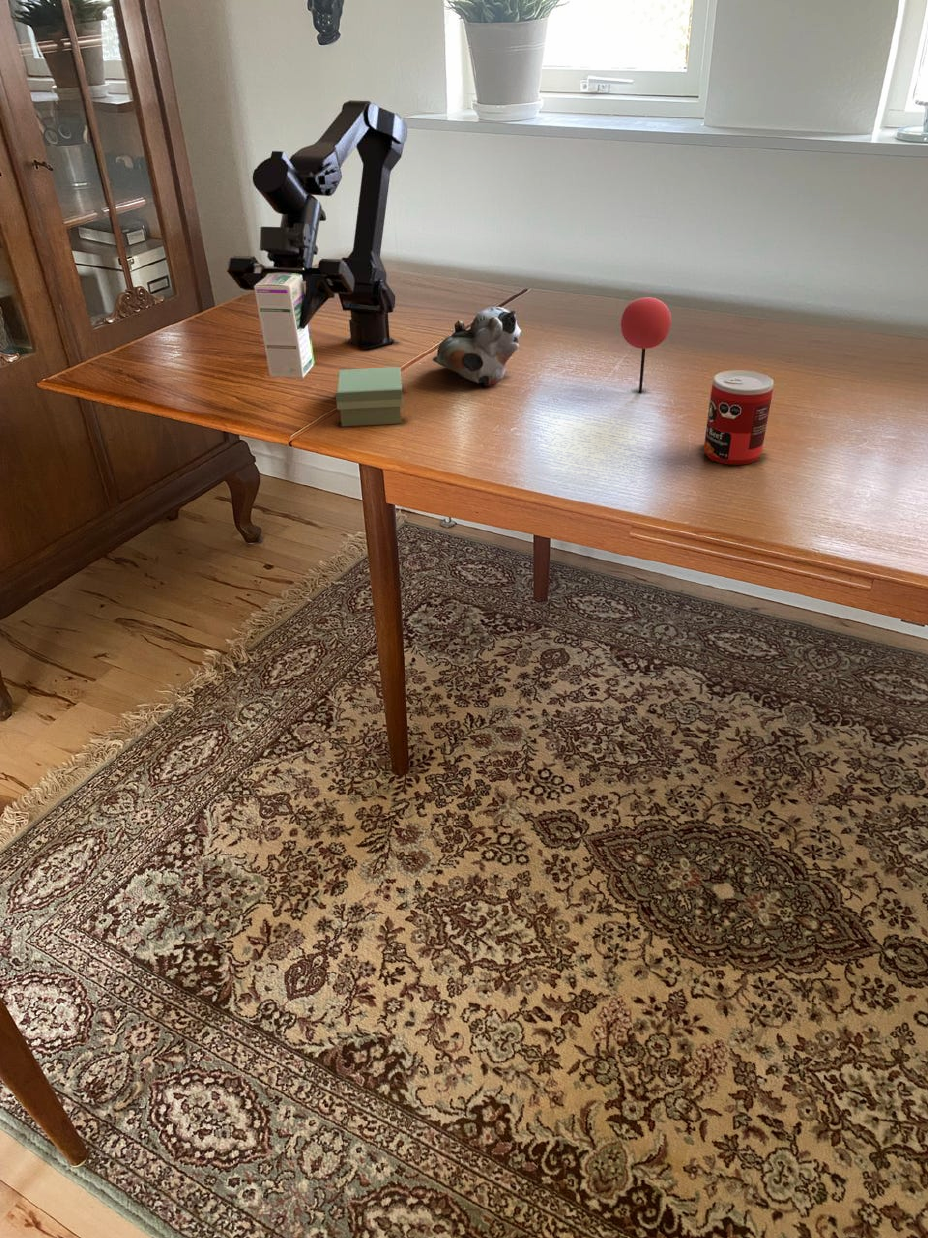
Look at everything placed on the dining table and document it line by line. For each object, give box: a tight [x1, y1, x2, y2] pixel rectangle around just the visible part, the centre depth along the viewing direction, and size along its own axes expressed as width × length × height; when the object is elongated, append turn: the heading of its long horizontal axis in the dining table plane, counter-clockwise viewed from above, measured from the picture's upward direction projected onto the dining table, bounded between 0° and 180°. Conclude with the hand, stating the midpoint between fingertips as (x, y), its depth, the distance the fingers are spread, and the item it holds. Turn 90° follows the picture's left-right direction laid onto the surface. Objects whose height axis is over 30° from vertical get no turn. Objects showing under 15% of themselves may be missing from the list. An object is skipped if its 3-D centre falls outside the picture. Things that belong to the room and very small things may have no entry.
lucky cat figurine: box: [432, 306, 522, 387], centre depth 155 cm, size 15×12×14 cm
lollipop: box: [620, 296, 672, 393], centre depth 147 cm, size 8×8×15 cm
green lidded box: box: [335, 366, 404, 427], centre depth 146 cm, size 10×14×6 cm
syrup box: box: [254, 273, 316, 380], centre depth 142 cm, size 6×6×14 cm
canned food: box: [703, 369, 775, 466], centre depth 128 cm, size 8×8×11 cm
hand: (282, 326), depth 140 cm, fingers closed on syrup box, 6 cm apart
